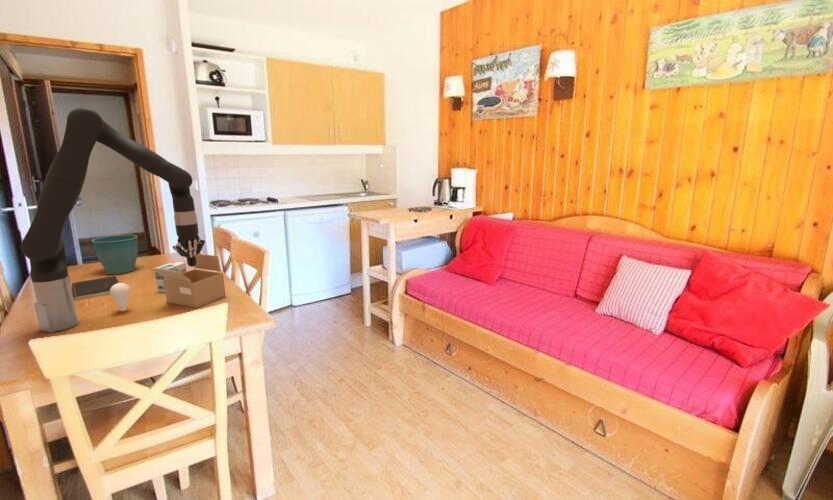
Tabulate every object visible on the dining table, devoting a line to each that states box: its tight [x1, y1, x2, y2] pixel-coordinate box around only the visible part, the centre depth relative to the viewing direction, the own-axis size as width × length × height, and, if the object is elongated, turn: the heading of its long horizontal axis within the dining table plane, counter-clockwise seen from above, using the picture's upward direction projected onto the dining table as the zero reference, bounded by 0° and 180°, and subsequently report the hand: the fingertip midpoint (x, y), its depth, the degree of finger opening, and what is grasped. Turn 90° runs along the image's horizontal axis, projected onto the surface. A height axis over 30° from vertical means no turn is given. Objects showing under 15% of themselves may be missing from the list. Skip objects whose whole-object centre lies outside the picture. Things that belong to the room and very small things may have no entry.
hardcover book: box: [71, 275, 120, 301], centre depth 177 cm, size 16×23×2 cm
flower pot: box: [91, 234, 139, 275], centre depth 201 cm, size 18×18×17 cm
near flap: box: [151, 267, 191, 282], centre depth 153 cm, size 6×14×1 cm
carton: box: [163, 268, 227, 309], centre depth 163 cm, size 14×16×10 cm
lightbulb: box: [109, 282, 131, 312], centre depth 151 cm, size 6×6×11 cm
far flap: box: [193, 253, 222, 272], centre depth 166 cm, size 6×14×1 cm
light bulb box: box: [154, 261, 187, 293], centre depth 176 cm, size 11×7×11 cm, turn 168°
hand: (192, 265), depth 161 cm, fingers closed
